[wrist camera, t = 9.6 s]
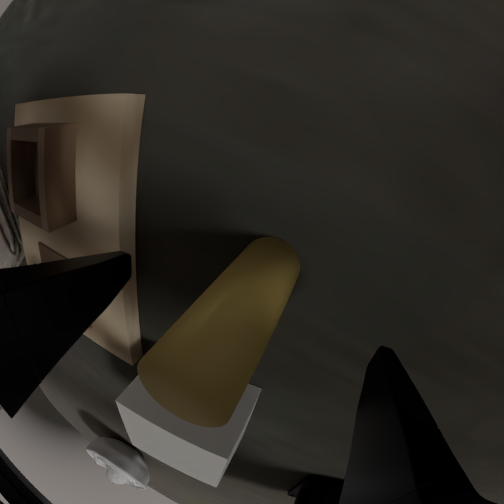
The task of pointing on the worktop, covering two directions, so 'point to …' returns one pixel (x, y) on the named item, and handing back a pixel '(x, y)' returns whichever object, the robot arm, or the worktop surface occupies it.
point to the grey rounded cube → (184, 433)
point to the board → (81, 193)
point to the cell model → (120, 462)
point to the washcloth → (9, 232)
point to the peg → (222, 336)
